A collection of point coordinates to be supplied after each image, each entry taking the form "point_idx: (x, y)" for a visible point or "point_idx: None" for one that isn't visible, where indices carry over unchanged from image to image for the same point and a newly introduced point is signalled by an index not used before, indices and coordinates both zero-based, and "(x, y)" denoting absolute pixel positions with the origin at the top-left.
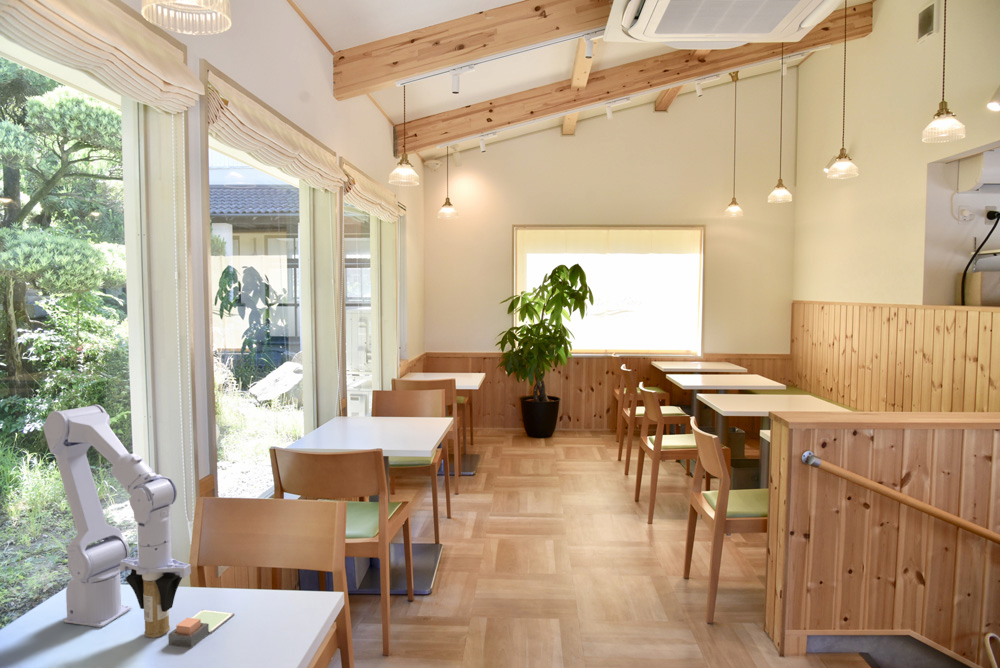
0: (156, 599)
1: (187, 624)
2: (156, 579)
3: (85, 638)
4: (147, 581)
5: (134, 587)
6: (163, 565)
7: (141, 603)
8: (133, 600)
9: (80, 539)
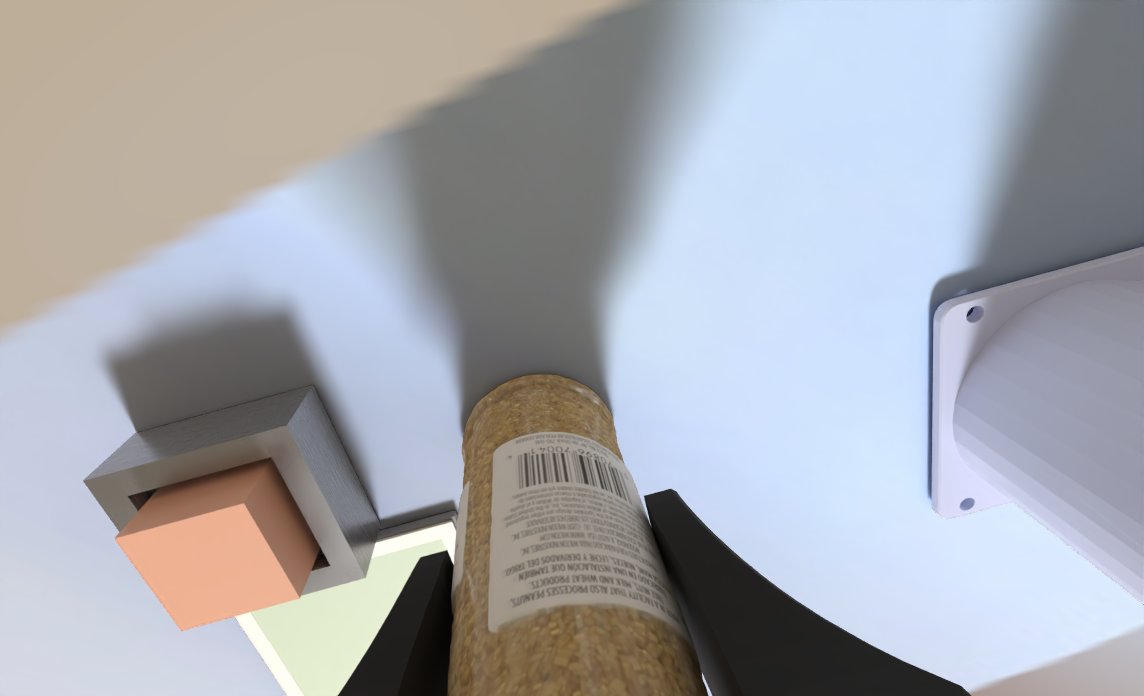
0: (464, 621)
1: (182, 550)
2: None
3: (930, 169)
4: None
5: (780, 639)
6: None
7: (660, 523)
8: (998, 562)
9: None
